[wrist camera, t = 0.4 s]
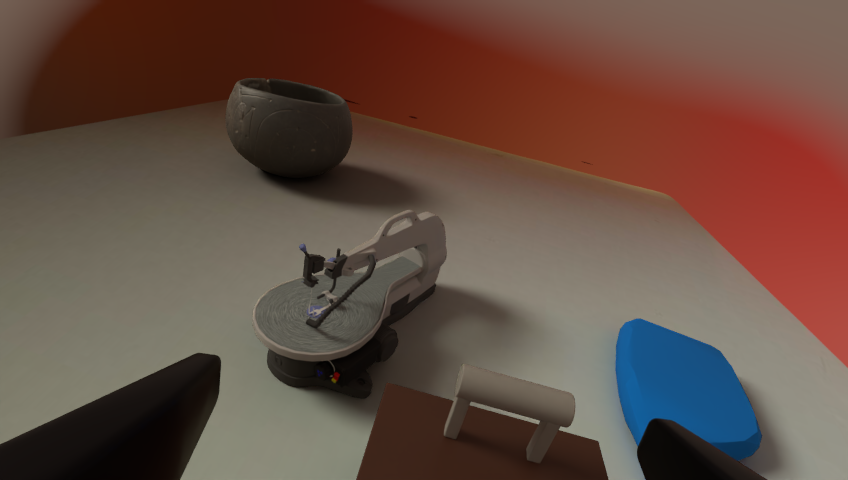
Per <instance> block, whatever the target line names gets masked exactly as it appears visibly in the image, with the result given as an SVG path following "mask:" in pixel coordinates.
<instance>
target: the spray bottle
mask: <svg viewBox="0 0 848 480" xmlns="http://www.w3.org/2000/svg"><path fill="white" fill-rule="evenodd" d="M616 376H617V384H618V392H619V398H620V402H621V405H622V409H623V413H624V417H625V421H626V423H627V425H628V427H629V429H630V431H631V432H632V435H633V437H634V439H635V441H636V444H637V446H638V445H639V443H640V441H641V439H642V436H643V434H644V432H645V430H646V427H647V425H648V423H649V421H651V420H652V419H654V418H661V419H668V420H672V421H675V422H676V423H678V424H680V425H681V426H683V427H684V428H686V429H688V430H689V431H691V432H692V433H694V434H695V435H697V436H699V437H700V438H702V439H703V440H705V441H707V442H708V443H710V444H711V445H713V446H714V447H716V448H718V449H719V450H721V451H722V452H724V453H726V454H727V455H729V456H730V457H732V458H734V459H735V460H737V461H739V460H741V459H744V458H746V457H749V456H751V455H753V454H754V452H755V451H756V450H757V449H758V448H759V446H760V442H761V438H762V435H761V432H760V429H759V426H758V423H757V420H756V417H755V414H754V411H753V409H752V406H751V404H750V402H749V400H748V398H747V396H746V394H745V392H744V390H743V388H742V386H741V384H740V382H739V380H738V378H737V376H736V374H735V372H734V370H733V368H732V366H731V365H730V364H729V362H728V361H727V360H726V358H725V357H724V356H723V354H722V353H721V352H720V351H719V350H717V349H716V348H714V347H712V346H711V345H708V344H705V343H703V342H700V341H698V340H695V339H692V338H690V337H687V336H685V335H682V334H679V333H677V332H674V331H671V330H669V329H666V328H664V327H661V326H658V325H656V324H653V323H651V322H648V321H645V320H643V319H635V320H632V321H629V322H626V323H625V324H624V325H623V326H622V327H621V329H620V332H619V336H618V340H617V345H616Z"/></svg>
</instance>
